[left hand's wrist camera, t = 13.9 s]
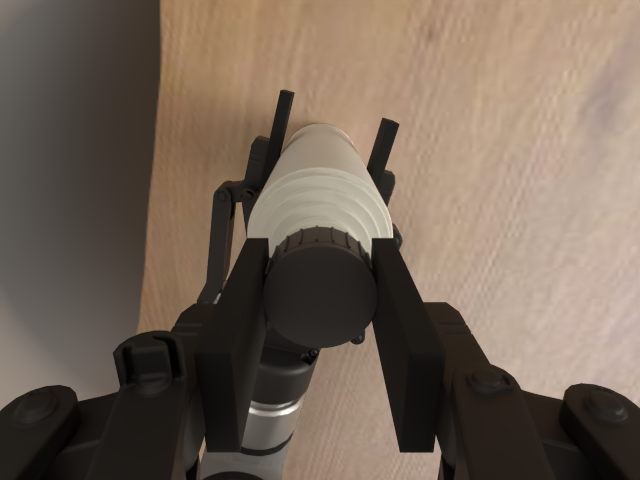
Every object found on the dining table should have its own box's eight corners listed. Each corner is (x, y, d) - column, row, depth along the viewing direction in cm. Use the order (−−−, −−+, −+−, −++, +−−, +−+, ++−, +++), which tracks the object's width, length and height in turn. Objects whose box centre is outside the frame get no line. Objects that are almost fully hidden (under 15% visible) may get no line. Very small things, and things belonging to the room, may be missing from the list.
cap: (309, 202, 14) (307, 219, 12) (395, 265, 15) (405, 290, 13) (246, 282, 15) (236, 309, 13) (329, 337, 16) (330, 368, 14)
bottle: (332, 108, 34) (355, 158, 12) (370, 173, 36) (451, 319, 14) (268, 149, 35) (181, 265, 13) (308, 210, 37) (292, 399, 15)
